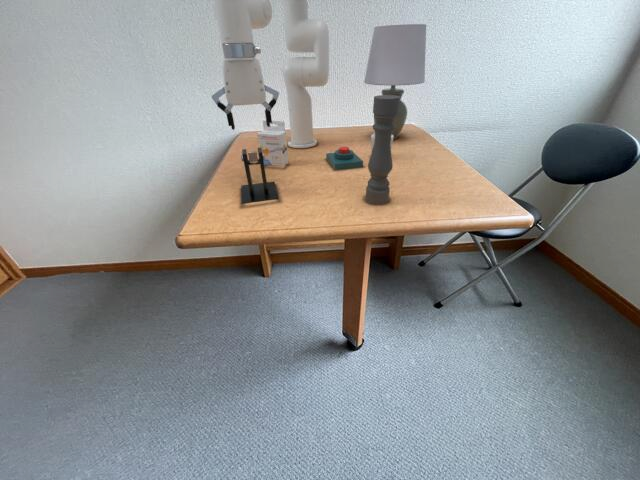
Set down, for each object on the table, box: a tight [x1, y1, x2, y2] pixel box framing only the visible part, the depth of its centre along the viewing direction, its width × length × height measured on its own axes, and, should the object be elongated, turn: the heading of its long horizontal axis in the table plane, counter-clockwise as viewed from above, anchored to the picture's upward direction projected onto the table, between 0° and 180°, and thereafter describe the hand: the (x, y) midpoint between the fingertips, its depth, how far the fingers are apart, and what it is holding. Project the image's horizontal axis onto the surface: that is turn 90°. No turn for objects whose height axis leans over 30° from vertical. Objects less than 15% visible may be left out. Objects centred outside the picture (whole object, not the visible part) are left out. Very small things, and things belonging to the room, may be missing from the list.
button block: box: [325, 149, 364, 171], centre depth 98 cm, size 12×10×4 cm
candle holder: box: [365, 94, 400, 206], centre depth 68 cm, size 6×6×25 cm
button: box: [338, 146, 350, 154], centre depth 96 cm, size 4×4×2 cm
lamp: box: [363, 23, 427, 140], centre depth 113 cm, size 24×24×40 cm
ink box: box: [257, 119, 289, 167], centre depth 95 cm, size 8×5×15 cm, turn 72°
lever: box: [247, 151, 260, 166], centre depth 77 cm, size 12×5×2 cm, turn 13°
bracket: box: [240, 147, 280, 205], centre depth 76 cm, size 12×10×13 cm
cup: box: [370, 133, 394, 154], centre depth 99 cm, size 11×8×8 cm
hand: (251, 127), depth 77 cm, fingers open, 9 cm apart
